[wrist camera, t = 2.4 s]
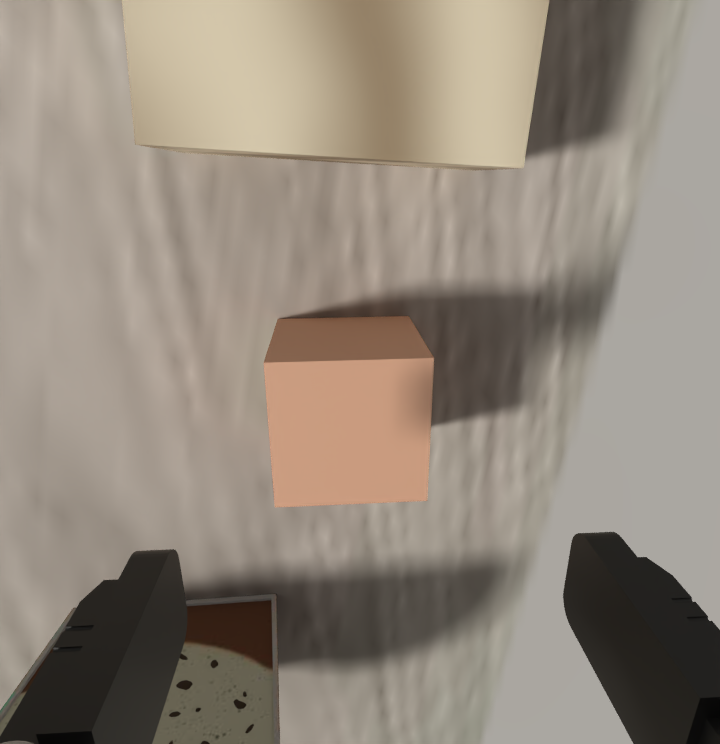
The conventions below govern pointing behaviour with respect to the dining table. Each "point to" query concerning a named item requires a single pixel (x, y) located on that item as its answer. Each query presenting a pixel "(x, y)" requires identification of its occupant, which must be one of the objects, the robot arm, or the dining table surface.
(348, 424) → the terracotta cube
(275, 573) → the dining table surface
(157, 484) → the dining table surface
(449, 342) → the dining table surface
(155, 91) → the birch block
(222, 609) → the food container
